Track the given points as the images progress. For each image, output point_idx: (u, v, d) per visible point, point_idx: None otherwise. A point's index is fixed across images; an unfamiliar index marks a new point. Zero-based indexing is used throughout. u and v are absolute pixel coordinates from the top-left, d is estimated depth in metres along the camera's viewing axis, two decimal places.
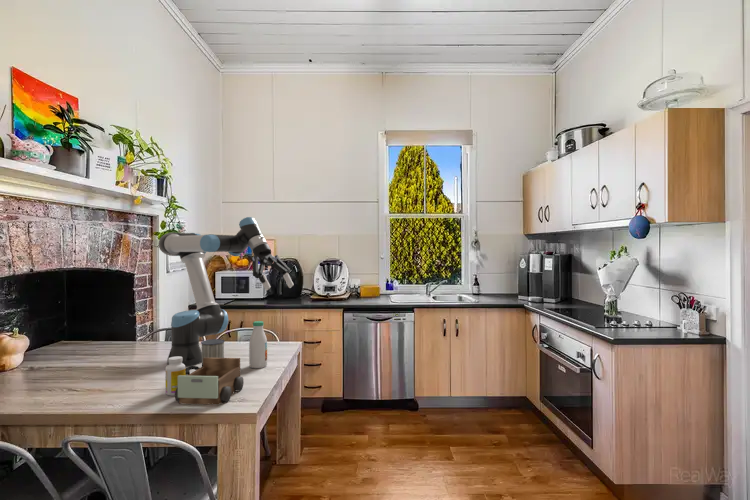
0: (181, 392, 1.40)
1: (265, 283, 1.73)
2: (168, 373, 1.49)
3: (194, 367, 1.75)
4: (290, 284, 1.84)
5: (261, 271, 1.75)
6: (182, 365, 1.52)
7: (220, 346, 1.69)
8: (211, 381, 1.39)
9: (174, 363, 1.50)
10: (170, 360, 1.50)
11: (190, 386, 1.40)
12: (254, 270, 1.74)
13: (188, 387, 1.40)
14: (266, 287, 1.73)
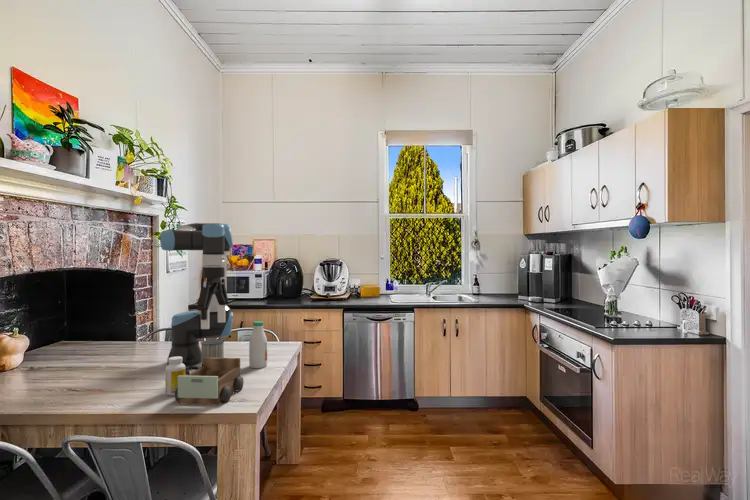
0: (181, 392, 1.40)
1: (205, 321, 1.44)
2: (168, 373, 1.49)
3: (194, 367, 1.75)
4: (221, 320, 1.58)
5: (207, 306, 1.44)
6: (182, 365, 1.52)
7: (220, 346, 1.69)
8: (211, 381, 1.39)
9: (174, 363, 1.50)
10: (170, 360, 1.50)
11: (190, 386, 1.40)
12: (201, 302, 1.42)
13: (188, 387, 1.40)
14: (204, 326, 1.44)
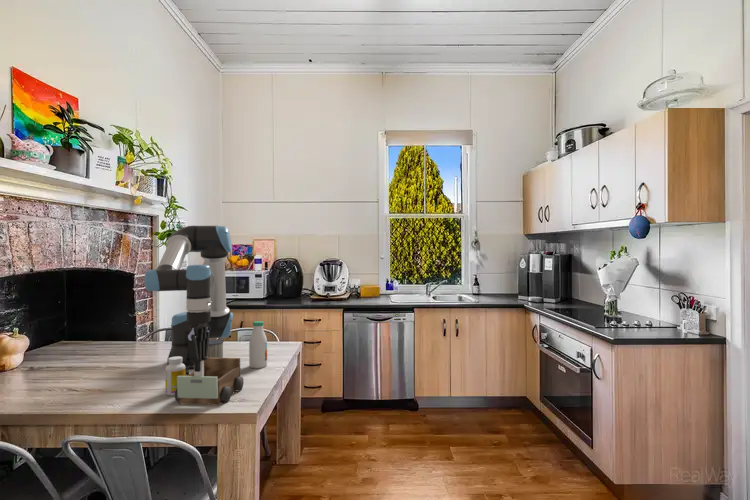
0: (181, 392, 1.40)
1: (198, 373, 1.40)
2: (168, 373, 1.49)
3: (193, 367, 1.74)
4: None
5: (200, 357, 1.40)
6: (182, 365, 1.52)
7: (219, 346, 1.69)
8: (210, 382, 1.39)
9: (174, 363, 1.50)
10: (170, 360, 1.50)
11: (190, 387, 1.40)
12: (193, 356, 1.37)
13: (187, 387, 1.40)
14: None
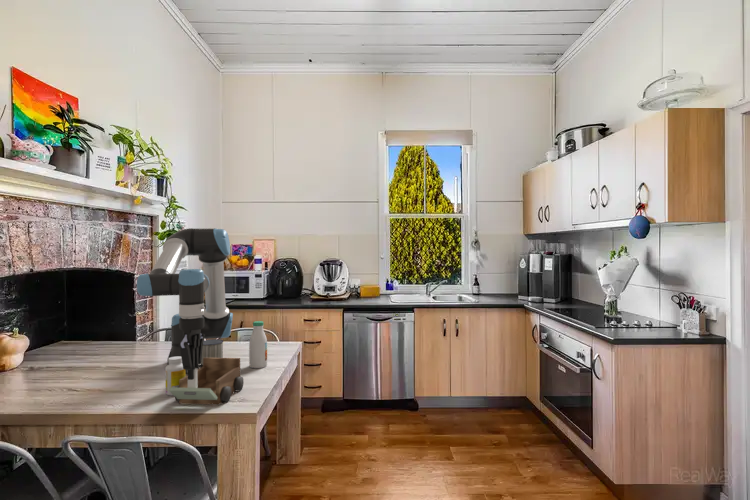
0: (179, 397, 1.39)
1: (192, 381, 1.36)
2: (168, 373, 1.49)
3: None
4: None
5: (194, 364, 1.35)
6: (182, 365, 1.52)
7: (219, 346, 1.69)
8: (205, 393, 1.35)
9: (174, 363, 1.50)
10: (170, 360, 1.50)
11: (186, 394, 1.37)
12: (186, 364, 1.33)
13: (183, 395, 1.37)
14: (191, 386, 1.36)
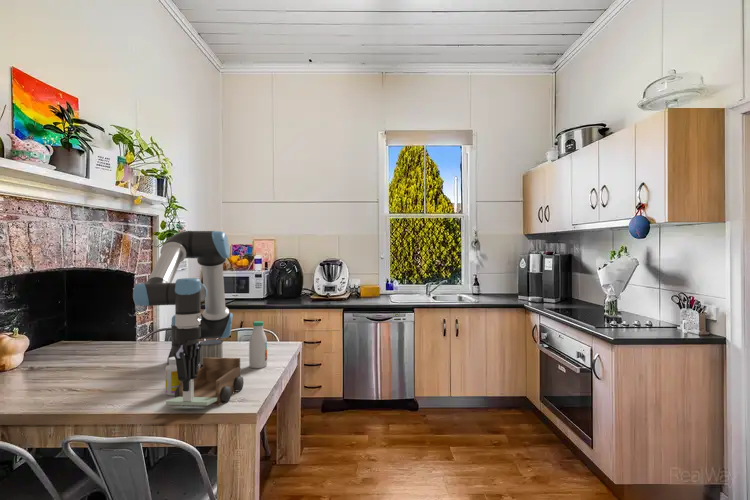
0: None
1: (187, 392, 1.33)
2: (168, 373, 1.49)
3: None
4: None
5: (189, 376, 1.32)
6: None
7: (219, 346, 1.68)
8: None
9: (174, 363, 1.50)
10: (170, 360, 1.50)
11: None
12: (181, 375, 1.30)
13: None
14: (186, 397, 1.33)
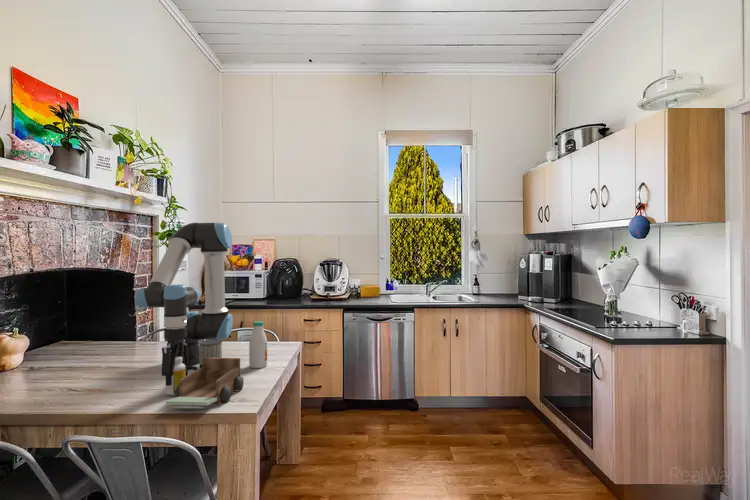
0: None
1: (170, 386, 1.48)
2: None
3: (192, 367, 1.74)
4: None
5: (172, 371, 1.48)
6: (182, 365, 1.52)
7: (218, 346, 1.68)
8: None
9: None
10: None
11: None
12: (165, 370, 1.45)
13: None
14: (169, 391, 1.48)
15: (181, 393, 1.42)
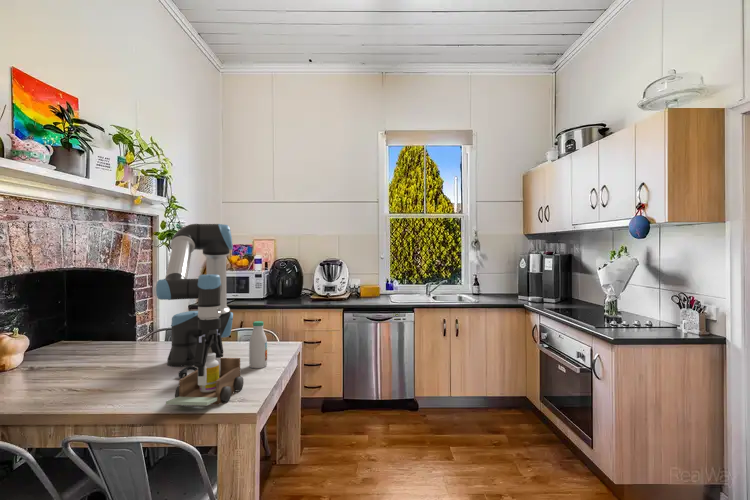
0: None
1: (202, 377, 1.43)
2: None
3: (192, 367, 1.74)
4: None
5: (204, 362, 1.43)
6: (216, 361, 1.49)
7: None
8: None
9: (208, 359, 1.47)
10: None
11: None
12: (198, 360, 1.40)
13: None
14: (201, 382, 1.43)
15: (181, 393, 1.42)
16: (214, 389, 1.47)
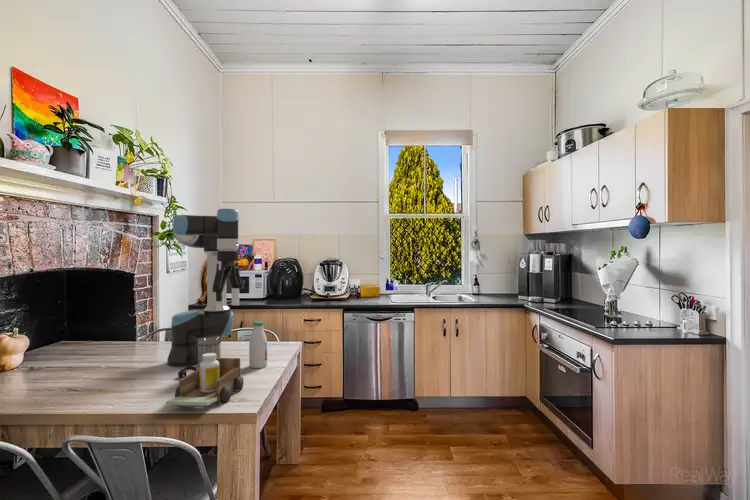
0: None
1: (220, 303, 1.48)
2: (203, 370, 1.46)
3: (191, 367, 1.74)
4: (235, 303, 1.61)
5: (222, 287, 1.48)
6: (216, 362, 1.48)
7: (217, 346, 1.68)
8: None
9: (208, 360, 1.47)
10: (204, 357, 1.47)
11: None
12: (216, 284, 1.45)
13: None
14: (219, 307, 1.48)
15: (181, 393, 1.42)
16: (214, 389, 1.47)
